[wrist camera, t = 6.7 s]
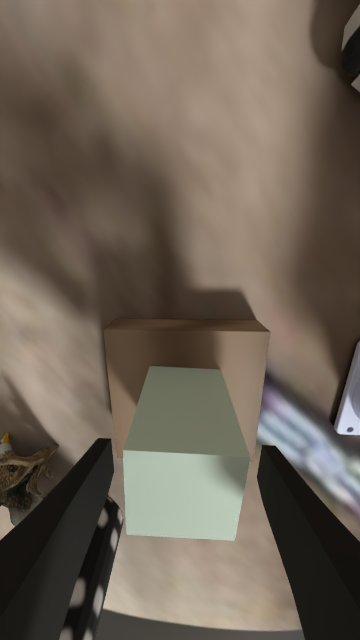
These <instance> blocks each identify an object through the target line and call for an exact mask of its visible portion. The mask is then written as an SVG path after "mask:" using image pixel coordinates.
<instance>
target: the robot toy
mask: <svg viewBox="0 0 360 640" xmlns="http://www.w3.org/2000/svg"><path fill="white" fill-rule="evenodd" d="M342 50H343V52H342V65H343V69H344V71H345V73H346V74H348V75H349V76H354V75H357V74H358V73H360V4H359V6H358V7H357V9H356V10H355V12H354V13H353V15H352V16H351V18H350V20H349V21H348V23H347V24H346V26H345V28H344V36H343V43H342ZM342 50H341V51H342ZM351 85H352V86H353V87H354V88H356V89H357V90H358V91H359V92H360V75H359V76H358V77H357V78H356V79H355V80H354V81H353V83H352V84H351Z"/></svg>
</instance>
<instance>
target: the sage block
mask: <svg viewBox="0 0 360 640" xmlns="http://www.w3.org/2000/svg"><path fill="white" fill-rule="evenodd" d="M249 461H250V455H249V452H248V449H247V446H246V443H245V440H244V437H243V434H242V431H241V428H240V425H239V422H238V419H237V416H236V413H235V410H234V407H233V404H232V401H231V398H230V395H229V392H228V389H227V386H226V383H225V380H224V377H223V374H222V371H221V370H219V369H199V368H180V367H161V366H150V367H149V370H148V373H147V376H146V379H145V382H144V386H143V389H142V392H141V395H140V398H139V401H138V404H137V408H136V411H135V414H134V417H133V420H132V423H131V427H130V430H129V433H128V436H127V439H126V442H125V445H124V449H123V463H124V489H125V514H126V535H143V536H161V537H179V538H197V539H216V540H234V541H235V536H236V531H237V525H238V520H239V515H240V509H241V504H242V499H243V493H244V488H245V483H246V477H247V472H248V467H249Z"/></svg>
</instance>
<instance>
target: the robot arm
mask: <svg viewBox="0 0 360 640" xmlns="http://www.w3.org/2000/svg"><path fill="white" fill-rule="evenodd" d="M334 429H335V430H336V431H337V433H339V434H350V435H360V341H359V342H358V344H357V346H356V350H355V353H354V357H353V360H352V364H351V368H350V371H349V375H348V378H347V382H346V385H345V389H344V392H343V396H342V399H341V403H340V407H339V410H338V414H337V417H336V421H335V424H334ZM113 473H114V464H113V454H112V444H111V439H106V438H98V439H97V440H96V441H95V442H94V444H93V445H92V446H91V447H90V448H89V449H88V451H87V452H86V453H85V454H84V455H83V456H82V458H81V459H80V460H79V461H78V462H77V463H76V465H75V466H74V467H73V468H72V469H71V470H70V471H69V472H68V473H67V475H66V476H65V477H64V478H63V479H62V480H61V481H60V482H59V483H58V484H57V485H56V487H55V488H54V489H53V490H52V491H51V492H50V493H49V494H48V495H47V496H46V497H45V498H44V499H43V500H42V501H41V502H40V503H39V504H38V505H37V506H36V507H35V508H34V509H33V510H32V511H31V512H30V513H29V514H28V515H27V516H26V517H25V518H24V519H23V520H22V521H21V522H20V523H19V524H18V525H16V526H15V527H14V528H13V529H12V530H11V531H10V532H9V533H8V534H7V535H6V536H5V537H3V538H2V539H1V540H0V640H59V638H60V635H61V631H62V628H63V625H64V621H65V618H66V614H67V611H68V608H69V604H70V601H71V598H72V594H73V591H74V588H75V584H76V581H77V578H78V575H79V572H80V569H81V567H82V564H83V561H84V558H85V556H86V553H87V550H88V548H89V545H90V542H91V539H92V537H93V534H94V531H95V529H96V526H97V523H98V521H99V518H100V515H101V512H102V510H103V507H104V504H105V502H106V499H107V496H108V492H109V488H110V485H111V481H112V477H113ZM257 480H258V484H259V489H260V493H261V497H262V501H263V505H264V508H265V511H266V514H267V517H268V520H269V523H270V526H271V529H272V532H273V535H274V538H275V541H276V544H277V547H278V550H279V553H280V556H281V559H282V562H283V565H284V568H285V571H286V574H287V577H288V580H289V583H290V586H291V589H292V593H293V596H294V600H295V603H296V607H297V611H298V614H299V618H300V622H301V626H302V629H303V633H304V637H305V640H360V542H359V541H358V540H357V538H356V537H355V536H354V535H353V534H352V533H351V532H350V531H349V530H348V529H347V528H346V527H345V526H344V525H343V524H342V523H341V522H340V521H339V520H338V518H337V517H336V516H335V515H334V514H333V513H332V512H331V511H330V510H329V509H328V508H327V506H326V505H325V504H324V503H323V502H322V501H321V500H320V499H319V497H318V496H317V495H316V494H315V493H314V492H313V490H312V489H311V488H310V487H309V486H308V485H307V483H306V482H305V481H304V480H303V479H302V478H301V476H300V475H299V474H298V473H297V471H296V470H295V469H294V468H293V467H292V465H291V464H290V463H289V462H288V460H287V459H286V458H285V457H284V455H283V454H282V453H281V452H280V450H279V449H278V448H277V447H276V446H269V445H262V450H261V456H260V462H259V468H258V474H257Z"/></svg>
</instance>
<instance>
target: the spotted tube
mask: <svg viewBox="0 0 360 640" xmlns="http://www.w3.org/2000/svg"><path fill="white" fill-rule="evenodd" d="M122 525H123V517H122V513H121V511H120V509H119V507H118V506H117V505H116V503H115V502H114V501H112V500H111V499H110V498H109V497H107V499H106V502H105V504H104V507H103V510H102V512H101V515H100V518H99V521H98V523H97V526H96V529H95V531H94V534H93V537H92V539H91V542H90V545H89V548H88V550H87V553H86V556H85V558H84V561H83V564H82V567H81V569H80V572H79V575H78V578H77V581H76V584H75V588H74V591H73V594H72V598H71V601H70V604H69V608H68V611H67V614H66V618H65V621H64V625H63V628H62V631H61V635H60V638H59V640H95V637H96V633H97V629H98V625H99V621H100V617H101V612H102V608H103V604H104V600H105V596H106V592H107V588H108V583H109V579H110V575H111V571H112V567H113V563H114V558H115V554H116V550H117V546H118V542H119V538H120V533H121V529H122Z"/></svg>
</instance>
